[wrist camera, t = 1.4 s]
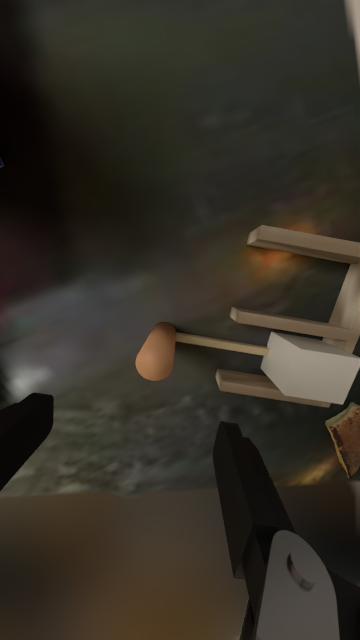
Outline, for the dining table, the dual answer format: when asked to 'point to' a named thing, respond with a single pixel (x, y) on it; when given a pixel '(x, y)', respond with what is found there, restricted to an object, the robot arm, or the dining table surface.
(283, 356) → the corded block
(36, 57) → the dining table surface
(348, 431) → the shard
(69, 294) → the dining table surface
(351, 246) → the birch lanes
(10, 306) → the dining table surface
